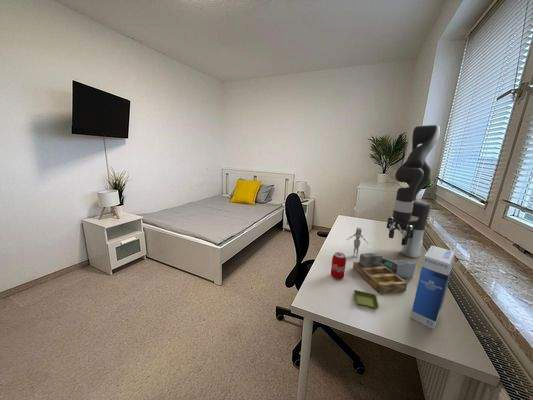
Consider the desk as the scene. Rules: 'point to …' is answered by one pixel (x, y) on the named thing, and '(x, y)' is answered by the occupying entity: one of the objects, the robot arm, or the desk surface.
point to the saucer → (365, 299)
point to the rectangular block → (403, 268)
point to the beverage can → (338, 266)
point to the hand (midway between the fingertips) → (397, 241)
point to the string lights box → (432, 285)
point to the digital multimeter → (386, 263)
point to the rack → (378, 274)
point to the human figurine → (357, 240)
